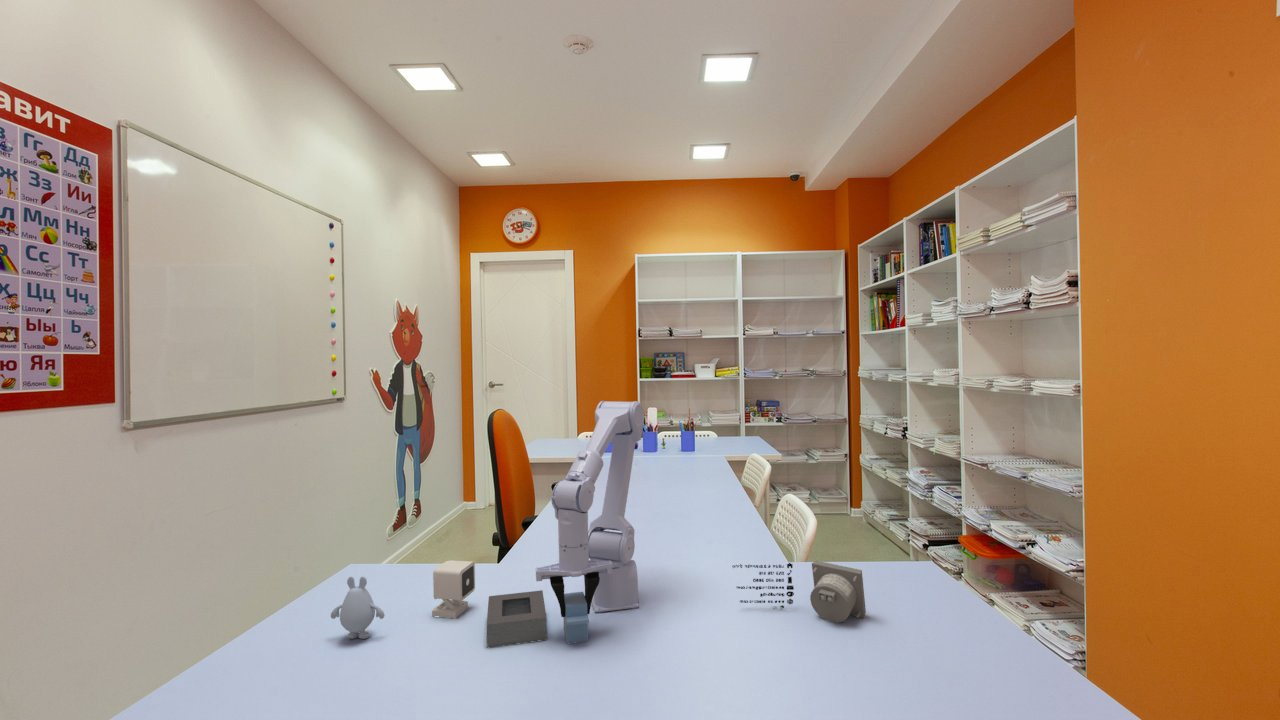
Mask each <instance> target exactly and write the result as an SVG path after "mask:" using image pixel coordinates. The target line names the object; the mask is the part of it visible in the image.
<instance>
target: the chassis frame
mask: <svg viewBox="0 0 1280 720" xmlns="http://www.w3.org/2000/svg"><path fill="white" fill-rule="evenodd" d="M487 601H488V603H487V612H486V613H487V615H486V648H487V649H489V648H488V647H490V648H496V647H495V646H497V647H504V646H503V645H505V646H511V645H510V644H513V645H518V644H517V643H520V644H525V643H524V642H528V643H532V642H531V641H536V642H539V641H538V640H543V641H546V640H545V639H547V640H548V629H547V627H548V625H547V623H548V621H547V620H548V619H547V612H546V605H545V599H544V592H543V589H542V590H541V589H540V590H532V591H523V592H514V593H506V594H498V595H489V596H488V600H487Z"/></svg>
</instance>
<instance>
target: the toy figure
mask: <svg viewBox="0 0 1280 720" xmlns="http://www.w3.org/2000/svg"><path fill="white" fill-rule="evenodd" d="M367 581H368V580H367V578H366V576H360V578H359V584H358V585H356V583H355V578H354V577H353V576H349V577H348V578H347V580H346V584H347V586H348V587H349V590H348V591H347V593H346V595H345V597H344V599H343V603H342V604H339V605H338V606H336V607H335V608H333V610H332V611H331V613H330V618H331V619H333V620H334V619H336V618H339V621H340V625H341V626H342V627H343V629H345V631H347V632H349V633H348V634H347V638H348V639H349V640H355V639H357V638H358V639H361V640H364V639H368V638H369V637H370V634H371V632H370V631H366V629H367V628H368V627H369V626H370V625H371V624H372V622H373V620H374V618H375V617H376V618H379V619H380V620H383V619H384V618H385V617H386V616H385V612H384V611H383V609H382V608H381V607H380V606H378V605H376V604H375V603H374V600H373V598H372V596H371V594H370V592H369V590H368V589H367V588H366V586H367V583H368V582H367Z"/></svg>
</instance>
